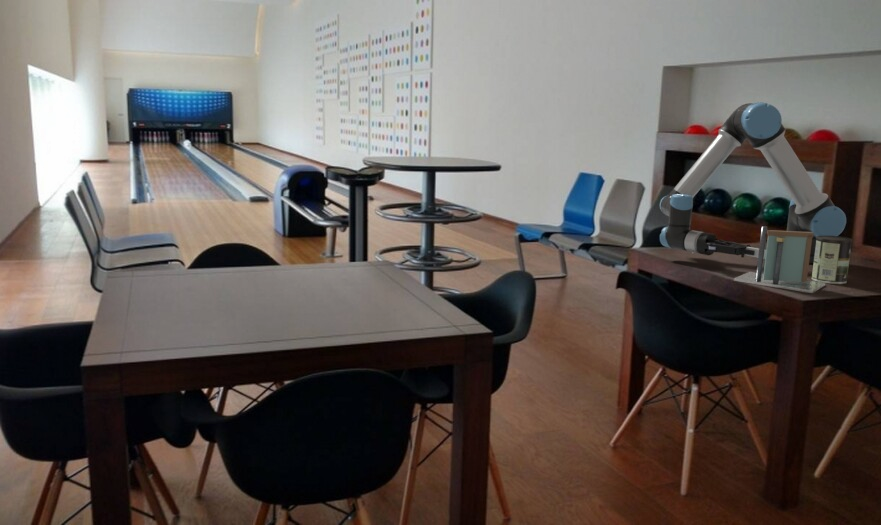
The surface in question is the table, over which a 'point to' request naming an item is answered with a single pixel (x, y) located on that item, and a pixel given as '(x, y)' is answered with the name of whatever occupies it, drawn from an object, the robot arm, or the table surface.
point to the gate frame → (776, 271)
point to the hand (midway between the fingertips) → (765, 254)
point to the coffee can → (831, 259)
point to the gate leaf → (788, 255)
